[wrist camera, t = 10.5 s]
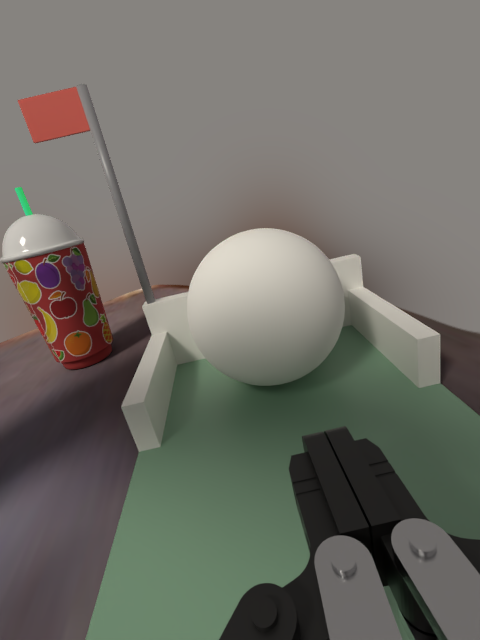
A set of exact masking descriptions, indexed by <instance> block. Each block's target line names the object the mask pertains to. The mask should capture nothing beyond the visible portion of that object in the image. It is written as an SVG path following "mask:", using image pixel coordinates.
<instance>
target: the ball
mask: <svg viewBox="0 0 480 640" xmlns="http://www.w3.org/2000/svg"><path fill="white" fill-rule="evenodd" d="M344 314H345V302H344V292H343V288H342V284H341V281H340V279H339V277H338V274H337V272H336V270H335V268H334V266H333V265H332V263H331V262H330V260H329V259H328V258H327V257H326V255H325V254H324V253H323V252H322V251H321V250H320V249H319V248H318V247H317V246H315V245H314V244H313V243H311V242H310V241H308V240H306V239H305V238H303V237H301V236H298V235H296V234H294V233H291V232H288V231H284V230H279V229H271V228H261V229H252V230H248V231H244V232H241V233H238V234H235V235H233V236H231V237H229V238H227V239H226V240H224V241H223V242H221V243H220V244H218V245H217V246H216V247H214V248H213V249H212V250H211V251H210V252H209V253H208V254H207V255H206V256H205V258H204V259H203V260H202V262H201V263H200V265H199V266H198V268H197V270H196V272H195V274H194V276H193V278H192V281H191V284H190V288H189V292H188V297H187V317H188V323H189V328H190V331H191V334H192V337H193V339H194V341H195V343H196V345H197V347H198V349H199V350H200V352H201V353H202V354H203V356H204V357H205V358H206V359H207V360H208V361H209V362H210V363H211V364H212V365H213V366H214V367H215V368H216V369H218V370H219V371H220V372H221V373H223V374H225V375H226V376H228V377H230V378H232V379H234V380H237V381H239V382H243V383H246V384H251V385H258V386H273V385H280V384H285V383H288V382H292V381H294V380H297V379H299V378H301V377H303V376H305V375H307V374H308V373H310V372H311V371H313V370H314V369H315V368H316V367H318V366H319V365H320V364H321V363H322V362H323V361H324V360H325V359H326V357H327V356H328V355H329V353H330V352H331V351H332V349H333V348H334V346H335V344H336V342H337V340H338V338H339V335H340V332H341V329H342V326H343V321H344Z"/></svg>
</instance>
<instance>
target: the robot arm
mask: <svg viewBox="0 0 480 640" xmlns="http://www.w3.org/2000/svg"><path fill="white" fill-rule="evenodd" d="M302 442H303V447H304V453H300V454H296V455H291V460H290V464H289V473H290V478H291V483H292V487H293V492H294V497H295V501H296V505H297V509H298V512H299V516H300V520H301V523H302V527H303V530H304V534H305V538H306V541H307V545H308V549H309V552H310V558H309V561H308V564H307V566H306V568H305V569H304V571H303V572H302V573H301V574H300V575H299V576H298V577H297V578H295V579H294V580H293V581H291V582H290V583H288V584H287V585H285V586H284V587H280V586H278V585H276V584H272V583H262V584H258V585H255V586H254V587H252V588H250V589H249V590H248V591H247V592H246V593H245V594H244V595H243V596H242V598H241V599H240V601H239V603H238V605H237V607H236V609H235V610H234V612H233V614H232V616H231V618H230V620H229V622H228V624H227V625H226V627H225V629H224V631H223V633H222V635H221V637H220V639H219V640H402V637H401V634H400V632H399V629H398V626H397V623H396V621H395V618H394V615H393V612H392V610H391V607H390V604H389V601H388V599H387V596H386V593H385V591H384V588H383V587H384V586H389V587H390V589H391V591H392V593H393V596H394V598H395V600H396V603H397V613H398V617H399V620H400V622H401V624H402V626H403V628H404V630H405V632H406V634H407V636H408V638H409V640H480V540H477V539H467V538H460V537H457V536H453V535H451V534H448V533H446V532H445V531H444V530H443V529H442V528H440V527H439V526H437V525H436V524H434V523H432V522H430V521H429V520H428V519H427V517H426V516H425V515H424V513H423V512H422V511H421V509H420V508H419V506H418V505H417V503H416V502H415V500H414V499H413V497H412V496H411V494H410V493H409V491H408V490H407V488H406V487H405V485H404V484H403V482H402V481H401V479H400V478H399V476H398V475H397V474H396V473H395V470H394V469H393V467H392V466H391V464H390V463H389V462H388V460H387V458H386V457H385V455H384V454H383V452H382V451H381V449H380V448H379V447H378V446H377V445H375V444H374V443H372V442H371V441H369V440H368V439H367V438H364V439H360V440H354V439H353V437H352V435H351V434H350V432H349V430H348V429H347V427H346V426H343V427H338V428H334V429H330V430H326V431H324V432H323V431H322V432H317V433H313V434H309V435H304V436H302Z"/></svg>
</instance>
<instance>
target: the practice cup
mask: <svg viewBox="0 0 480 640" xmlns="http://www.w3.org/2000/svg"><path fill="white" fill-rule="evenodd" d="M18 102H19V105H20V108H21V110H22V113H23V116H24V118H25V120H26V123H27V126H28V128H29V131H30V134H31V136H32V139H33V142H34V143H39V142H43V141H48V140H52V139H56V138H61V137H65V136H70V135H74V134H78V133H83V132H86V131H91V134H92V137H93V140H94V143H95V146H96V149H97V152H98V155H99V158H100V161H101V164H102V167H103V171H104V174H105V177H106V180H107V183H108V186H109V189H110V192H111V195H112V198H113V201H114V204H115V207H116V210H117V213H118V216H119V219H120V222H121V225H122V228H123V231H124V234H125V237H126V241H127V244H128V246H129V250H130V253H131V256H132V259H133V262H134V265H135V268H136V271H137V274H138V277H139V280H140V283H141V286H142V289H143V292H144V295H145V299H146V302H145V303H144V304H143V306H142V308H143V311H144V313H145V316H146V319H147V322H148V325H149V328H150V331H151V334H152V336H151V338H150V340H149V343H148V345H147V347H146V350H145V352H144V354H143V357H142V359H141V361H140V364H139V366H138V368H137V371H136V373H135V375H134V378H133V380H132V382H131V385H130V387H129V389H128V392H127V394H126V396H125V399H124V401H123V403H122V406H121V408H122V411H123V413H124V416H125V418H126V421H127V423H128V426H129V428H130V431H131V433H132V436H133V438H134V441H135V443H136V446H137V448H138V451H139V453H138V457H137V460H136V464H135V467H134V471H133V475H132V478H131V482H130V485H129V489H128V492H127V496H126V499H125V503H124V506H123V510H122V513H121V517H120V520H119V524H118V527H117V531H116V534H115V538H114V541H113V545H112V548H111V552H110V555H109V559H108V562H107V566H106V569H105V573H104V577H103V580H102V584H101V587H100V591H99V594H98V598H97V601H96V605H95V608H94V612H93V615H92V619H91V622H90V626H89V629H88V633H87V636H86V640H219V639H220V637H221V635H222V633H223V631H224V629H225V627H226V625H227V624H228V622H229V620H230V618H231V616H232V614H233V612H234V610H235V609H236V607H237V605H238V603H239V601H240V599H241V598H242V596H243V595H244V594H245V593H246V592H247V591H248V590H249V589H250V588H252V587H254V586H255V585H258V584H262V583H272V584H276V585H278V586H280V587H284V586H285V585H287V584H288V583H290V582H291V581H293V580H294V579H295V578H297V577H298V576H299V575H300V574H301V573H302V572H303V571H304V569H305V568H306V566H307V564H308V561H309V558H310V552H309V549H308V545H307V541H306V538H305V534H304V530H303V527H302V523H301V520H300V516H299V512H298V509H297V505H296V501H295V497H294V492H293V487H292V483H291V478H290V473H289V464H290V460H291V455H296V454H300V453H304V447H303V442H302V436H304V435H309V434H313V433H317V432H322V431H323V432H324V431H326V430H330V429H334V428H338V427H343V426H346V427H347V429H348V430H349V432H350V434H351V435H352V437H353V439H354V440H360V439H364V438H367V439H368V440H369V441H371V442H372V443H374V444H375V445H377V446H378V447H379V448H380V449H381V451H382V452H383V454H384V455H385V457H386V458H387V460H388V462H389V463H390V464H391V466H392V467H393V469H394V470H395V473H396V474H397V475H398V476H399V478H400V479H401V481H402V482H403V484H404V485H405V487H406V488H407V490H408V491H409V493H410V494H411V496H412V497H413V499H414V500H415V502H416V503H417V505H418V506H419V508H420V509H421V511H422V512H423V513H424V515H425V516H426V517H427V519H428V520H429V521H430V522H432V523H434V524H436V525H437V526H439V527H440V528H442V529H443V530H444V531H445V532H446V533H448V534H451V535H453V536H457V537H460V538H467V539H477V540H480V416H479V415H478V414H477V413H476V412H474V411H473V410H472V409H471V408H470V407H468V406H467V405H466V404H465V403H464V402H462V401H461V400H460V399H459V398H458V397H456V396H455V395H454V394H453V393H452V392H450V391H449V390H448V389H447V388H446V387H444V386H443V385H442V384H441V383H440V334H439V333H437V332H436V331H434V330H432V329H431V328H429V327H428V326H426V325H424V324H423V323H421V322H419V321H418V320H416V319H415V318H413V317H411V316H410V315H408V314H406V313H405V312H403V311H402V310H400V309H398V308H397V307H395V306H393V305H392V304H390V303H389V302H387V301H385V300H383V299H382V298H380V297H379V296H377V295H376V294H374V293H372V292H370V291H369V290H367V289H366V288H364V287H363V280H362V268H361V257H360V256H358V255H356V254H352V255H347V256H343V257H339V258H335V259H330V262H331V263H332V265H333V266H334V268H335V270H336V272H337V274H338V277H339V279H340V281H341V284H342V288H343V292H344V302H345V314H344V321H343V326H342V329H341V332H340V335H339V338H338V340H337V342H336V344H335V346H334V348H333V349H332V351H331V352H330V353H329V355H328V356H327V357H326V359H325V360H324V361H323V362H322V363H321V364H320V365H319V366H318V367H316V368H315V369H314V370H313V371H311V372H310V373H308V374H307V375H305V376H303V377H301V378H299V379H297V380H294V381H292V382H288V383H285V384H280V385H273V386H258V385H251V384H246V383H243V382H239V381H237V380H234V379H232V378H230V377H228V376H226V375H225V374H223V373H221V372H220V371H219V370H218V369H216V368H215V367H214V366H213V365H212V364H211V363H210V362H209V361H208V360H207V359H206V358H205V357H204V356H203V354H202V353H201V352H200V350H199V349H198V347H197V345H196V343H195V341H194V339H193V337H192V334H191V331H190V328H189V323H188V317H187V297H188V292H186V293H181V294H177V295H173V296H168V297H164V298H159V299H155V298H154V295H153V292H152V289H151V286H150V283H149V280H148V277H147V273H146V271H145V268H144V264H143V261H142V258H141V255H140V251H139V248H138V245H137V242H136V239H135V236H134V232H133V229H132V226H131V223H130V220H129V217H128V214H127V211H126V207H125V204H124V201H123V198H122V195H121V192H120V189H119V185H118V182H117V179H116V176H115V173H114V170H113V166H112V163H111V160H110V157H109V154H108V151H107V148H106V144H105V141H104V138H103V135H102V132H101V129H100V126H99V123H98V119H97V116H96V113H95V110H94V107H93V104H92V100H91V98H90V94H89V91H88V88H87V85H85V84H81V85H77V86H76V87H73V88H68V89H64V90H60V91H55V92H51V93H47V94H42V95H38V96H34V97H29V98H25V99H21V100H18ZM383 588H384V591H385V593H386V596H387V599H388V601H389V604H390V607H391V610H392V612H393V615H394V618H395V621H396V623H397V626H398V629H399V632H400V634H401V637H402V640H409V638H408V636H407V634H406V632H405V630H404V628H403V626H402V624H401V622H400V620H399V617H398V613H397V603H396V600H395V598H394V596H393V593H392V591H391V589H390V587H389V586H384V587H383Z"/></svg>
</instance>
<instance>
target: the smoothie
mask: <svg viewBox="0 0 480 640" xmlns="http://www.w3.org/2000/svg"><path fill="white" fill-rule="evenodd" d="M15 191H16V193H17V195H18V198H19V200H20V203H21V205H22V207H23V209H24V212H25V214H26V216H24V217H21V218H20V219H18V220H17V221H15V222H14V223H13V224H12V225H11V226H10V227H9V228H8V230H7V231H6V233H5V236H4V239H3V246H2V253H3V256H2V258H1V259H0V260H1V262H2V263H3V264H4V266H5V268H6V270H7V272H8V274H9V275H10V277H11V279H12V281H13V283H14V285H15V286H16V288H17V290H18V292H19V294H20V296H21V297H22V299H23V301H24V303H25V305H26V306H27V308H28V310H29V312H30V314H31V316H32V318H33V319H34V321H35V323H36V325H37V327H38V329H39V330H40V332H41V334H42V336H43V338H44V340H45V341H46V343H47V345H48V347H49V349H50V351H51V352H52V354H53V356H54V358H55V360H56V361H57V362H61V363H62V364H63V365H64V367H65V368H66V369H81V368H85V367H88V366H91V365H93V364H96V363H98V362H100V361H101V360H103V359H105V358H106V357H107V356H108V355H109V354H110V353H111V351H112V346H111V343H112V342H113V337H112V333H111V330H110V327H109V324H108V320H107V317H106V314H105V310H104V307H103V304H102V301H101V297H100V294H99V291H98V287H97V284H96V281H95V278H94V275H93V271H92V268H91V265H90V261H89V258H88V255H87V252H86V248H85V246H84V240H83V238H80V237H79V236H78V235H77V234H76V233H75V232H74V230H73V229H72V228H71V227H70V226H68V225H67V224H66V223H64V222H63V221H61V220H59V219H57V218H55V217H51V216H48V215H42V214H32V212H31V209H30V207H29V204H28V202H27V199H26V197H25V195H24V192H23V190H22V188H21V187H19V188H15Z"/></svg>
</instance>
